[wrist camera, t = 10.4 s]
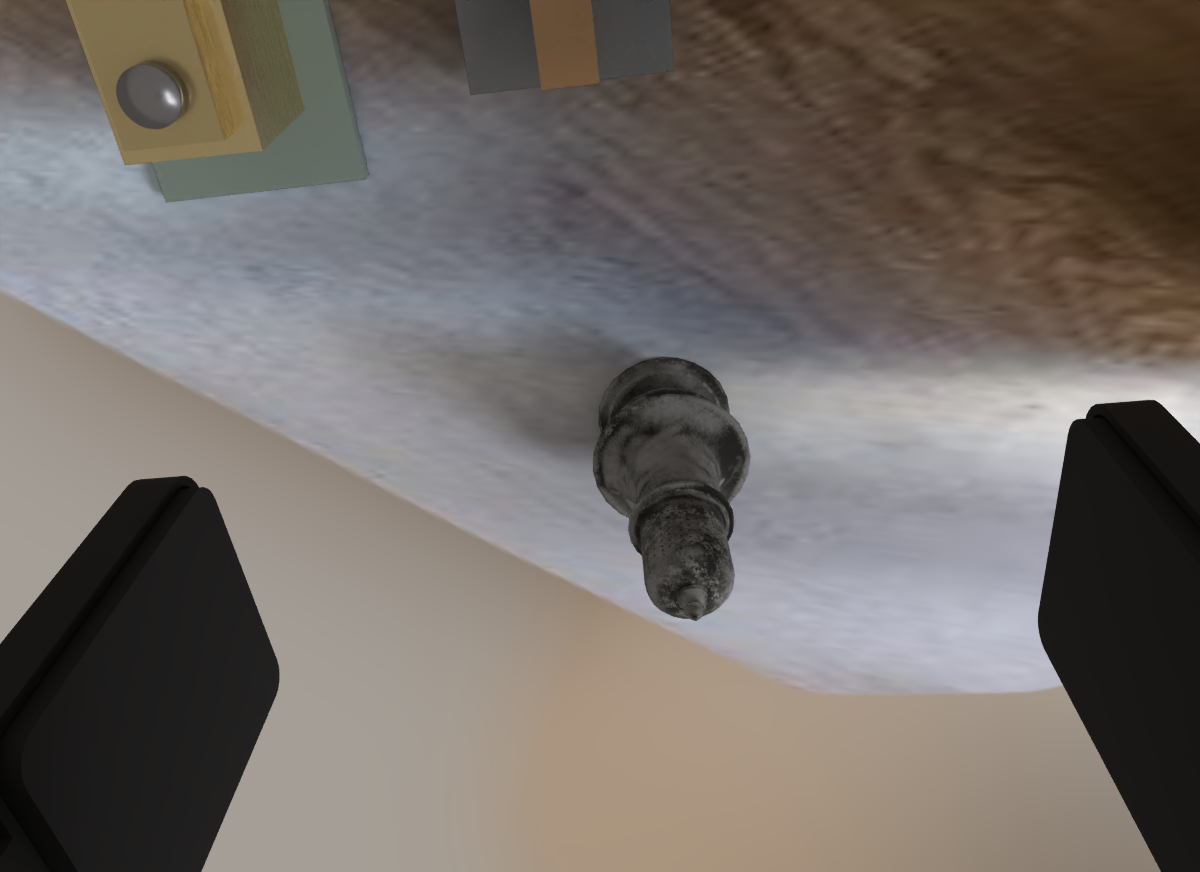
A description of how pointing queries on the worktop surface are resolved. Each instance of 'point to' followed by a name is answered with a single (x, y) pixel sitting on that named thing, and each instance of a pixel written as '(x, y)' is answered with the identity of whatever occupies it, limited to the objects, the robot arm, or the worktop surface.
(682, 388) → the salt shaker
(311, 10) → the mat
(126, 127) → the lever cap
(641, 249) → the worktop surface
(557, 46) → the body
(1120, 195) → the worktop surface
